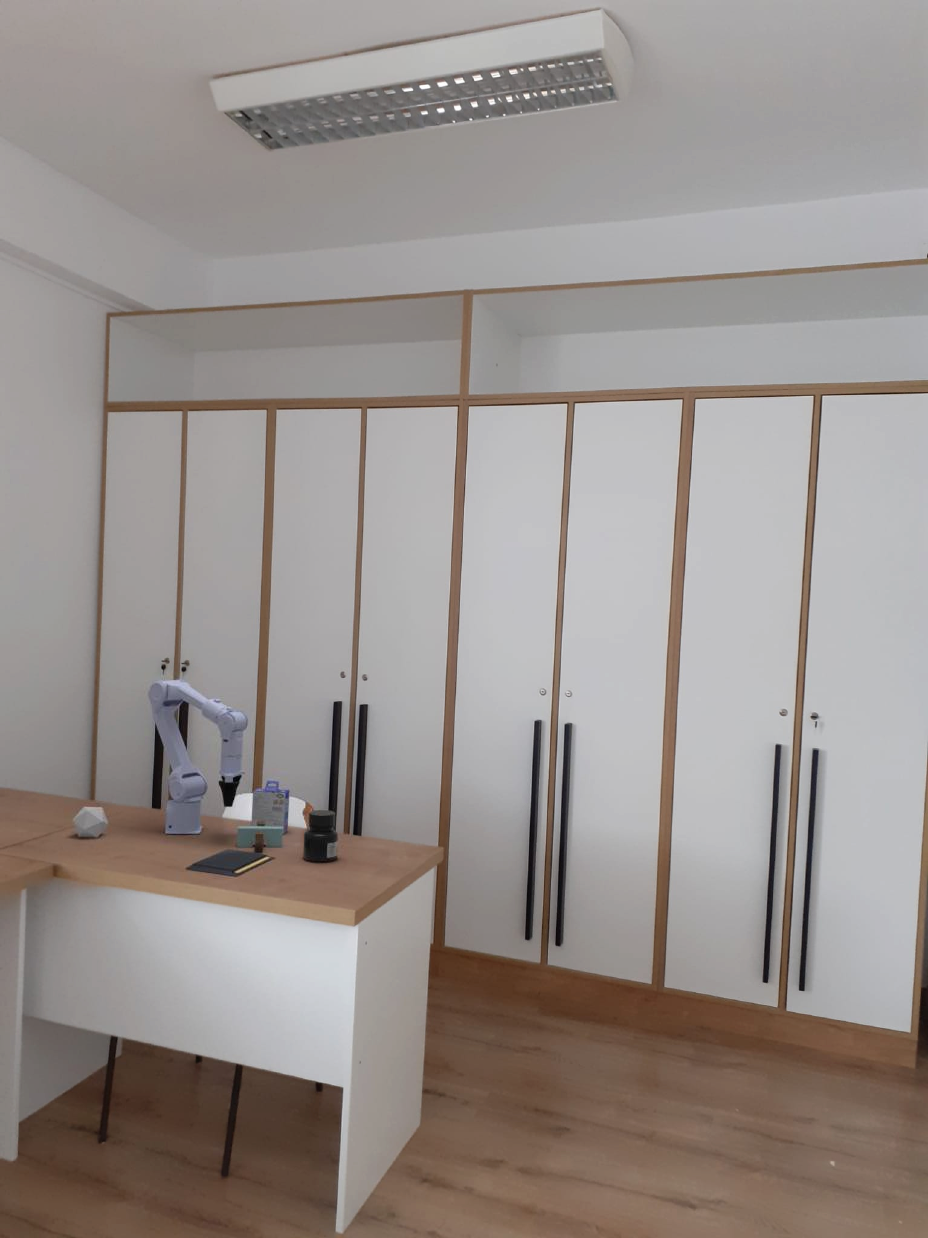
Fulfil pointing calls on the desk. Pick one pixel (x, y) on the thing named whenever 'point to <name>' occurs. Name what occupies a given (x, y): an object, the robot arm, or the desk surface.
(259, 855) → the wallet
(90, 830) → the die
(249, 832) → the teal curved block
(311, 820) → the ink bottle
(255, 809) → the ink cartridge box
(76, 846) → the desk surface
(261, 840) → the rail
